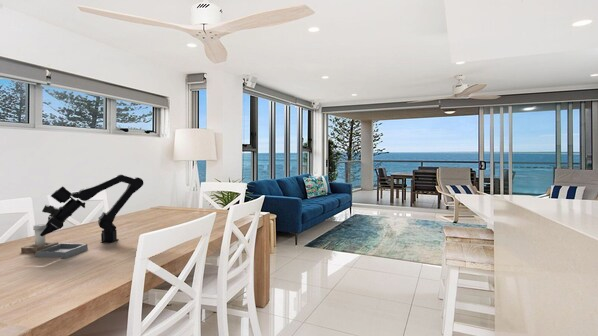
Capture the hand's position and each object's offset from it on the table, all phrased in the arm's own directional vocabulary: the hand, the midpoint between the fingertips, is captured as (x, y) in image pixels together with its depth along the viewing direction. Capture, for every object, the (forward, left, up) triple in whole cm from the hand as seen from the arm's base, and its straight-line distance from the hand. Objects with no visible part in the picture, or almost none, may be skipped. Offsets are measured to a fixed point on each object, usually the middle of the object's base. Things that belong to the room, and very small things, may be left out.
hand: (41, 233), depth 155 cm
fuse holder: (0, 0, -8) cm, 8 cm away
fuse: (0, 0, -8) cm, 8 cm away
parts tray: (-14, +3, -8) cm, 16 cm away
